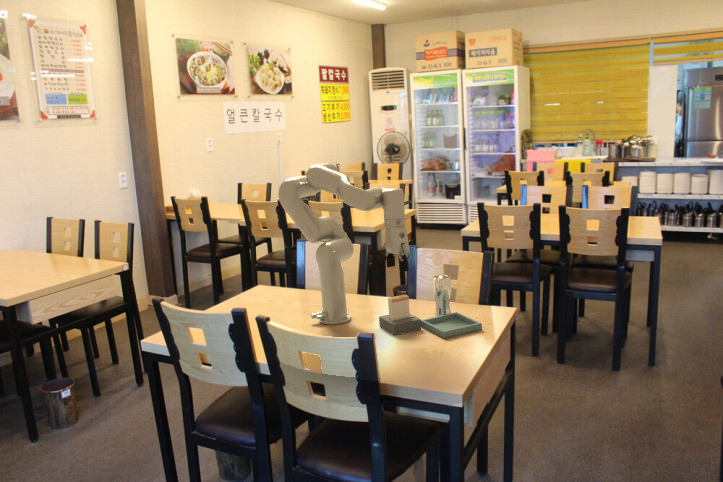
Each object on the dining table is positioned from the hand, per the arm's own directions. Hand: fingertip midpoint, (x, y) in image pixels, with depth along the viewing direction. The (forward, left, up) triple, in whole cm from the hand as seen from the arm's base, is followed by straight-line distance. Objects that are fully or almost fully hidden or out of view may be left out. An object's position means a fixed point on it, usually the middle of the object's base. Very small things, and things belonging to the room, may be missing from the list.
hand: (397, 269), depth 221 cm
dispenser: (0, 0, -23) cm, 23 cm away
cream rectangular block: (0, 0, -21) cm, 21 cm away
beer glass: (+22, +5, -23) cm, 32 cm away
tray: (+15, -11, -23) cm, 29 cm away
